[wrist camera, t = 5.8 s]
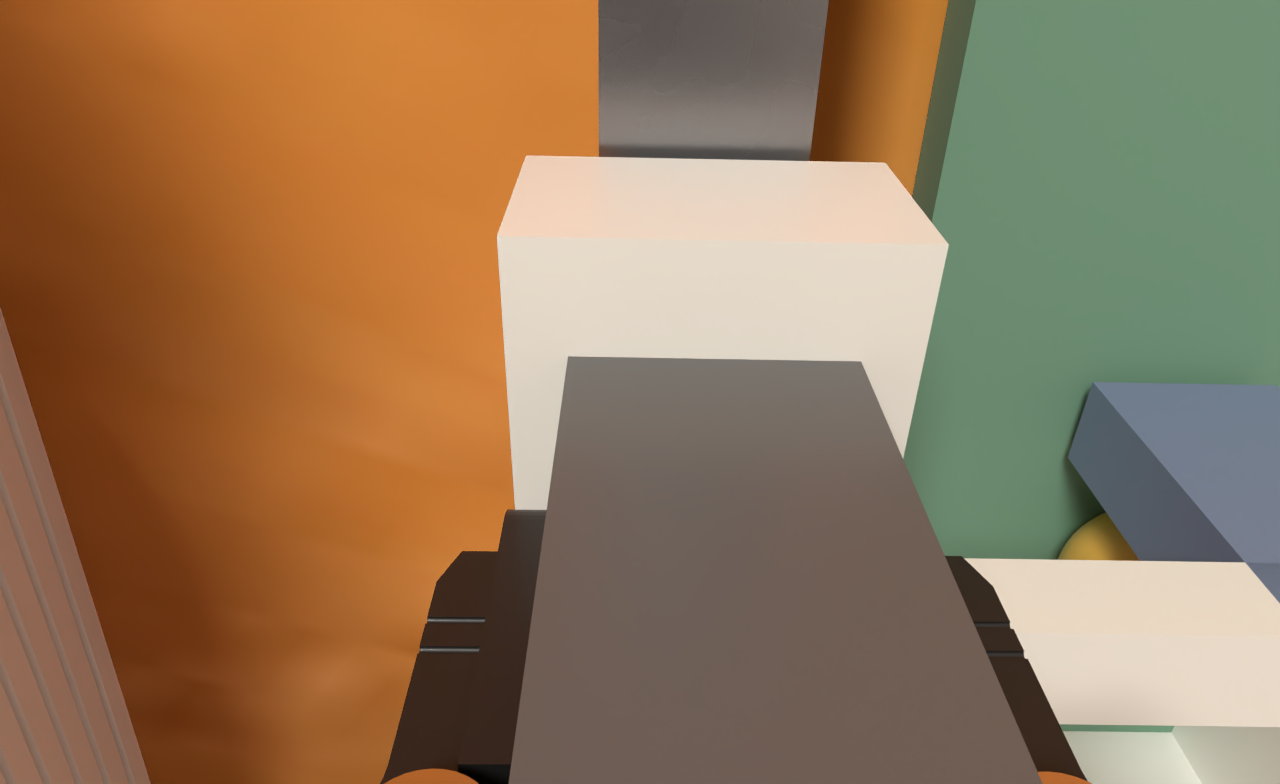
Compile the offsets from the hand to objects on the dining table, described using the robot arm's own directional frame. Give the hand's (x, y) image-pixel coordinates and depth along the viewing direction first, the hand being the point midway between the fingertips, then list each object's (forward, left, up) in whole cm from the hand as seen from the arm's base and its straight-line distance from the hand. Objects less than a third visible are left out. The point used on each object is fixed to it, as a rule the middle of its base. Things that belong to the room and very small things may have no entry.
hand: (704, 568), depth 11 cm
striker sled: (0, +5, -8) cm, 10 cm away
